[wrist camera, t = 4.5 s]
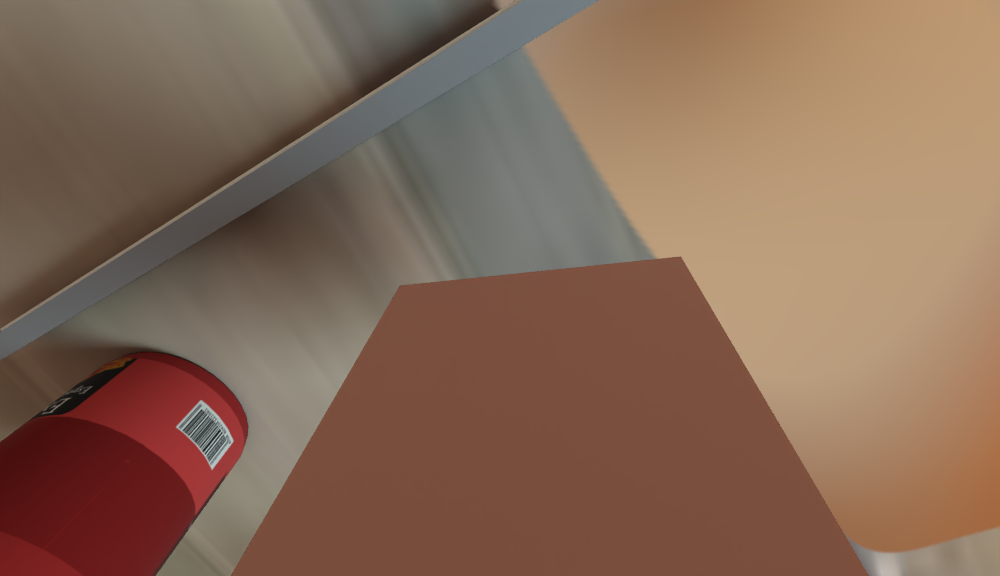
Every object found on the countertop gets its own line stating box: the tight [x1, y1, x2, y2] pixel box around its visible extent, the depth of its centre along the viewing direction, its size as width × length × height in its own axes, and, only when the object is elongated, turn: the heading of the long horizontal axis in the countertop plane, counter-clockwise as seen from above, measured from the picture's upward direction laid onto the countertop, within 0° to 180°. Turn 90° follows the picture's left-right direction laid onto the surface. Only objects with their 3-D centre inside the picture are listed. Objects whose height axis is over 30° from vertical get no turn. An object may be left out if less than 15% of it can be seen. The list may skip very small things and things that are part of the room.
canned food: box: [0, 352, 248, 576], centre depth 20 cm, size 8×8×11 cm
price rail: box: [0, 0, 598, 360], centre depth 18 cm, size 1×32×2 cm, turn 119°
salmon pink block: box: [231, 257, 869, 576], centre depth 8 cm, size 5×8×6 cm
